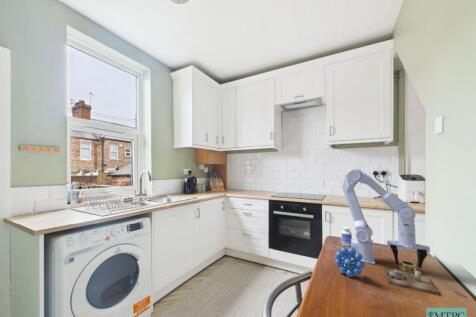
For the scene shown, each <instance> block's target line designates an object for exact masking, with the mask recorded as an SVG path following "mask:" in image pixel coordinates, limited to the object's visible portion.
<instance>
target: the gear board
mask: <svg viewBox="0 0 476 317" xmlns="http://www.w3.org/2000/svg"><path fill="white" fill-rule="evenodd" d="M383 268H384V269H383V270H384V274H385V276H386V279H387V282H388V284H389V285H394V286H397V287H401V288H405V289H410V290H414V291H419V292H423V293H427V294H432V295H435V296H439V291H438V290H437V288H436V287H435V286H434V284H433V282H431V280H430V278H429V277H428V276H426V275H422V272H421V271H419V270H415V274H414V273H407V272H405V271H402V270H401V271H400V270H397V269H391V268H387V267H383Z"/></svg>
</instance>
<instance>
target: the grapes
mask: <svg viewBox="0 0 476 317" xmlns="http://www.w3.org/2000/svg"><path fill="white" fill-rule="evenodd" d="M334 256H335V258H336V259H335V260H334V265H335V266H337V267H338V271H339V272H340V273H341V274H346V276H347V277H348V278H351V277H354V276H360V275H361V274H362V270H363V269H364V268H365V267H366V265H365V264H366V263H365V262H363V261H360V260H362V254H360V253H356V250H355V249H354V248H352V247H351V246H349V247H348V248H347V247H345V246H342V247H341V248H340V249H339V251H336V252H335V254H334Z"/></svg>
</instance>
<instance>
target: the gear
mask: <svg viewBox="0 0 476 317" xmlns="http://www.w3.org/2000/svg"><path fill="white" fill-rule="evenodd" d="M398 265H399V266H398V267H399V270H401V271H402V272H407V273H412V274H415V270H417V268H418V264H416V263H415V262H413V261H410V260H405V259H400V260H398ZM417 271H418V270H417Z"/></svg>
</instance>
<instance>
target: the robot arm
mask: <svg viewBox="0 0 476 317" xmlns="http://www.w3.org/2000/svg"><path fill="white" fill-rule="evenodd" d="M358 183H360V184H363V185H367V186H368V187H369V188H370V189H372V190H374V192H376V193H377V194H378V195H379V196H380V197H381V202H383V203H384V204H385V205H386V206H387V207H389V209H391V210H392V212H395V213H397V216H398V221H397V226H398V229H397V230H398V240H387V239H386V246H389V248H390V250H391V252H392V254H393V256H394V260H395V263H396V265H399V257H398V256H399V249H398V248H403V249H409V250H415V251H416V256H417V264H416V265H417V268H419V269H422V266H423V263H424V261H425V259H426V257H427V256H428V253H431V248H430V246H427V245H423V244H420V243H419V244H418V243H416V242H417V241H416V224H415V218H416V214H415V211H414V209H413V208H412V206H410V205H409V203H407V202H404V201H403V200H402V199H401V198H399V195H398V194H397V193H394V192H390V191H387V190H385V189H384V187H382V186H381V185H380V184H379V183H378V182H377V181H375V179H373V178H372V177H371V176H370V175H368V174H367V173H365V172H363V171H362V170H361V169H358V168H357V169H356V168H351V169H349V170H348V171H347V172H346V173H345V175H344V179H343V183H342V187H341V188H342V191H343V193H344V196H345V199H346V202H347V205H348V208H349V210H350V213H351V217H352V219H353V221H354V222H353V224H354V229H355V232H354V234H355V238H352V239H351V246H350V247H352V248H354V249H355V250H356V253H360V254H362V260H360V261H363V262H364V263H365V264H366V263H367V264H372V265H376V261H375V258H374V241H373V240H372V238H371V237H372V236H373V230H372V228H371V227H370V225H368V222H367V220H366V218H365V216H364V213H363V210H362V207H361V204H360V202H359V200H358V197H357V195H356V194H357V193H356V191H355V187H356V186H357V184H358Z"/></svg>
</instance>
